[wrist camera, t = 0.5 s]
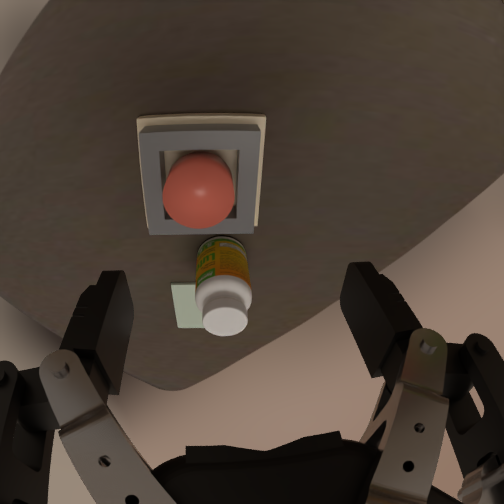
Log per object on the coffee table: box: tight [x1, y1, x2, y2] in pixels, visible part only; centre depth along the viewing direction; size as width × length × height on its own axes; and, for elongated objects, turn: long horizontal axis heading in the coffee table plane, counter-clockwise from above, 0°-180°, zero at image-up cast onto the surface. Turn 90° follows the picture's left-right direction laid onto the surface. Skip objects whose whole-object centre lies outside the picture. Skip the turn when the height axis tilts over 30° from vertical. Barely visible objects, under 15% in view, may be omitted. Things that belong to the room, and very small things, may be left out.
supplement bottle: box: [195, 236, 252, 336], centre depth 31 cm, size 5×5×10 cm
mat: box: [171, 282, 204, 328], centre depth 39 cm, size 8×8×1 cm
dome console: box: [137, 113, 266, 235], centre depth 27 cm, size 11×11×4 cm
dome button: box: [162, 151, 235, 229], centre depth 25 cm, size 6×6×3 cm
